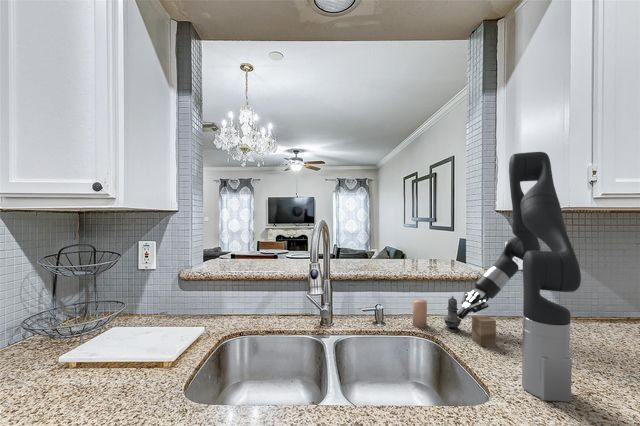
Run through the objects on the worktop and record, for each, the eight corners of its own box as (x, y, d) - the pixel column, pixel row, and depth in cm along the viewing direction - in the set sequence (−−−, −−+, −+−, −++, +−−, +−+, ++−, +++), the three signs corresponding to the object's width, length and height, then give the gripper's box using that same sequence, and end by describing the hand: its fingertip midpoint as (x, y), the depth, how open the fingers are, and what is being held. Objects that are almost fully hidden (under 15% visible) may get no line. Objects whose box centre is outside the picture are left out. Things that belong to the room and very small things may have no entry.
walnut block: (495, 345, 103) (496, 320, 102) (480, 346, 102) (480, 321, 102) (486, 339, 108) (486, 315, 107) (471, 339, 107) (472, 315, 107)
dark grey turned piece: (458, 333, 112) (459, 299, 112) (441, 329, 116) (441, 296, 115) (463, 328, 117) (463, 295, 116) (446, 325, 120) (446, 292, 120)
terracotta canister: (428, 327, 117) (428, 303, 117) (414, 327, 118) (414, 302, 118) (424, 323, 122) (425, 299, 122) (411, 322, 123) (411, 298, 123)
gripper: (474, 271, 123) (443, 304, 123) (496, 279, 110) (461, 316, 109) (487, 284, 124) (456, 317, 123) (511, 294, 111) (476, 331, 110)
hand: (458, 317), depth 116 cm, fingers closed
